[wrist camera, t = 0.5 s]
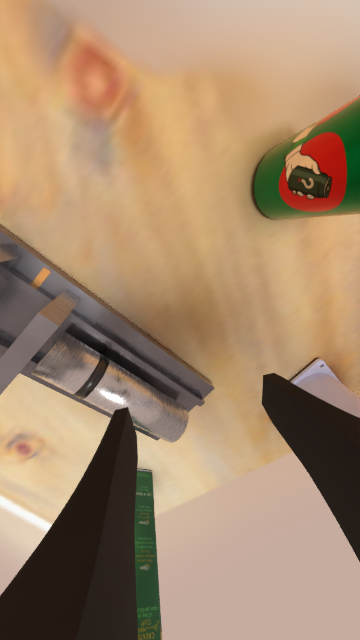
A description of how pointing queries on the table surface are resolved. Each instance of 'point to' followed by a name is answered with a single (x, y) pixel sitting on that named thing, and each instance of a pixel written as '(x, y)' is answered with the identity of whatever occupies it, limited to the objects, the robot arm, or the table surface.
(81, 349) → the tube
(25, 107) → the table surface
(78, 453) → the table surface
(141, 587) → the coffee box
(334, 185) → the soda can
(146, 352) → the rail
